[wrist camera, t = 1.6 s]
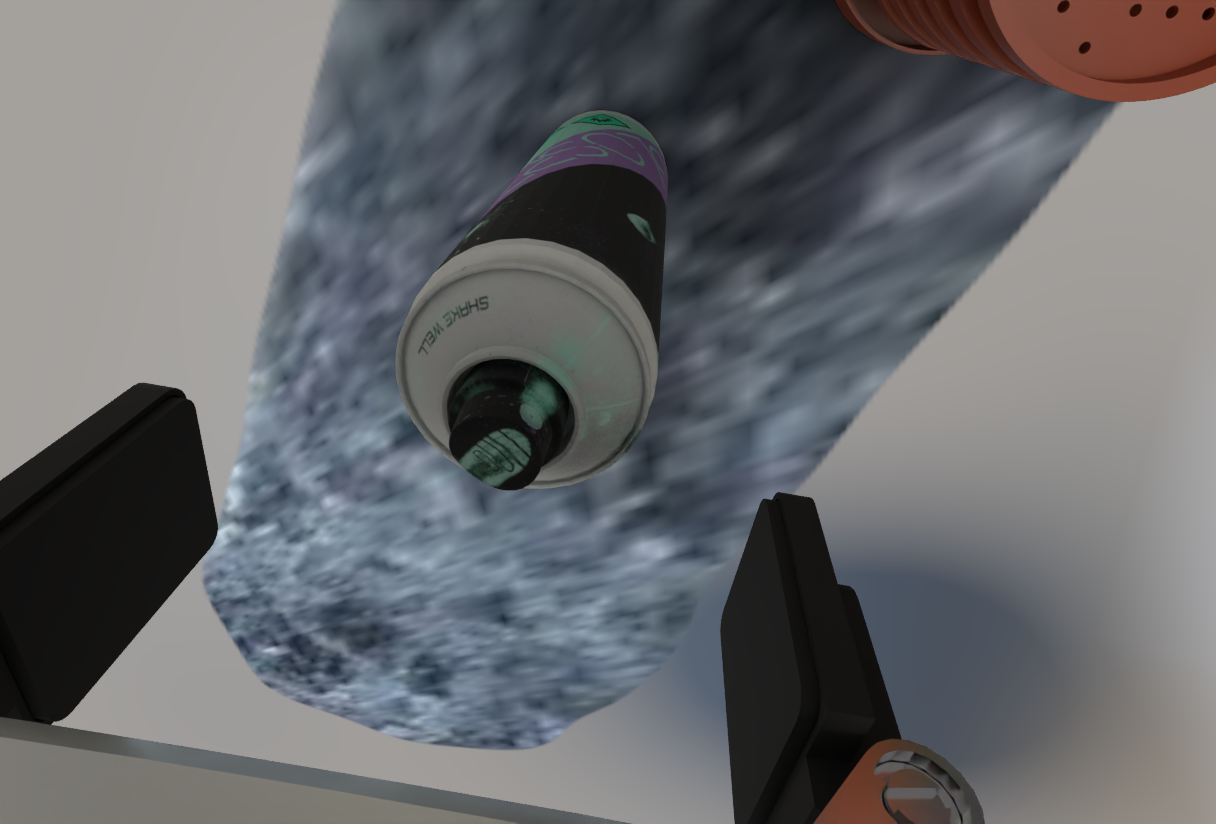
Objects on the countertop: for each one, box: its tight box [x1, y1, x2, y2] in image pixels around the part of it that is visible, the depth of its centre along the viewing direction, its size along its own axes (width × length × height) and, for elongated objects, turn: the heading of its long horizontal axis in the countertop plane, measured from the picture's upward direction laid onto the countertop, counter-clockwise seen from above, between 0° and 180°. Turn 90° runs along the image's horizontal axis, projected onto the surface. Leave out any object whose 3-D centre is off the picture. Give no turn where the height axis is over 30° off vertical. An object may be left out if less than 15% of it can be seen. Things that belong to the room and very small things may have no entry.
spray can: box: [395, 110, 668, 490], centre depth 20 cm, size 6×6×20 cm
